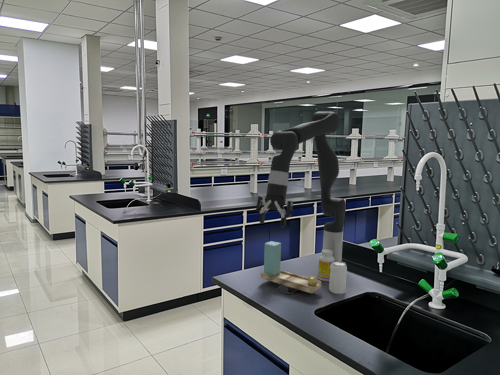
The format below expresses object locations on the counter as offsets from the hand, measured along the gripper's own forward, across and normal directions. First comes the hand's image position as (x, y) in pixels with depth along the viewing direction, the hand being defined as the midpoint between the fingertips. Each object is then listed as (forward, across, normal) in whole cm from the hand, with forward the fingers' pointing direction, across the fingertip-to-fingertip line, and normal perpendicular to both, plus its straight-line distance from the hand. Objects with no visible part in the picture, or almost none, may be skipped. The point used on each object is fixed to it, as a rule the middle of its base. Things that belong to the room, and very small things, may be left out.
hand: (271, 225), depth 138 cm
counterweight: (+21, -15, -14) cm, 29 cm away
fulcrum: (+26, -5, -16) cm, 30 cm away
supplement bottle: (+22, -14, -33) cm, 42 cm away
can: (+24, -22, -23) cm, 40 cm away
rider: (+22, +4, -16) cm, 27 cm away
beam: (+23, -5, -15) cm, 28 cm away
